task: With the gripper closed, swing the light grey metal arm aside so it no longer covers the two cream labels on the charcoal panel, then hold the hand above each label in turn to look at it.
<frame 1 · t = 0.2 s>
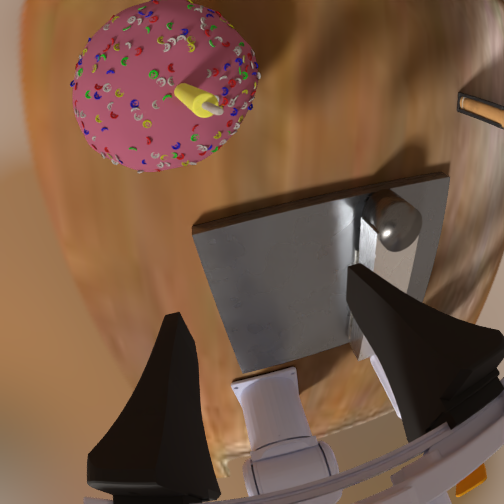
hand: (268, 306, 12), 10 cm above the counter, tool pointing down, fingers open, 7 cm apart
soap bottle: (396, 342, 37), on the counter
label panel: (338, 280, 26), on the counter
cable arm: (382, 289, 24), point 3 cm above the counter, hinge at 0.0°
cupcake: (168, 82, 15), on the counter
ammunition clip: (486, 109, 19), on the counter
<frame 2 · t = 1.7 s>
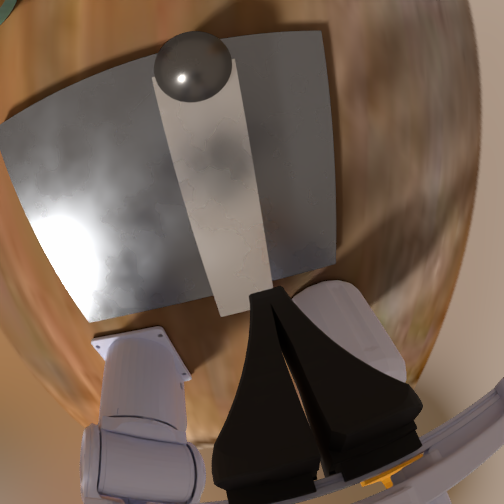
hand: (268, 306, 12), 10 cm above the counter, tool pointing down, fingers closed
soap bottle: (319, 311, 29), on the counter
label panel: (172, 188, 19), on the counter
cable arm: (219, 189, 17), point 3 cm above the counter, hinge at 0.0°
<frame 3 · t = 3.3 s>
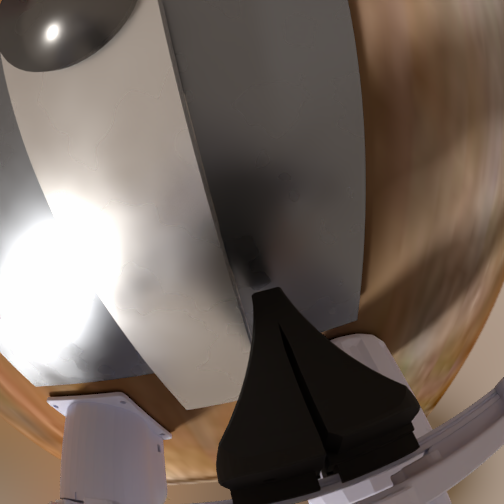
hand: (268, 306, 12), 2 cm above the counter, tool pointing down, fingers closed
soap bottle: (329, 367, 21), on the counter
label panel: (97, 225, 11), on the counter
cable arm: (150, 236, 8), point 3 cm above the counter, hinge at 0.0°, touching gripper
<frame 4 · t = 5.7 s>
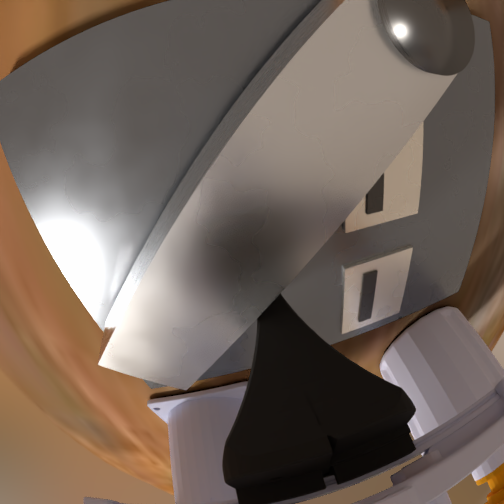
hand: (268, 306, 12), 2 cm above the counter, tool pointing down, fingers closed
soap bottle: (419, 339, 23), on the counter
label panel: (310, 203, 13), on the counter
cable arm: (270, 185, 8), point 3 cm above the counter, hinge at 46.8°, touching gripper
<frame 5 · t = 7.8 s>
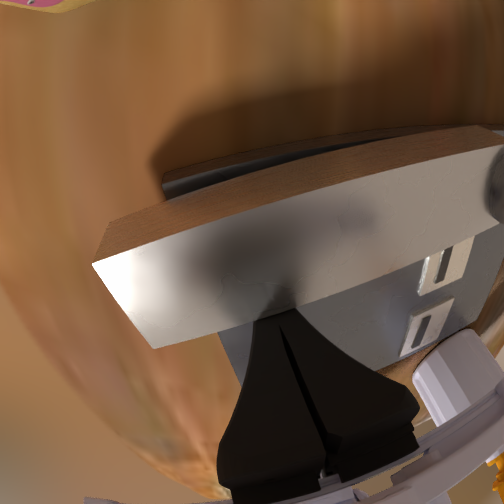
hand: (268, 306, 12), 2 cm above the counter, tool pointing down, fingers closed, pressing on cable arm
soap bottle: (442, 354, 26), on the counter
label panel: (398, 275, 16), on the counter
cable arm: (376, 210, 10), point 3 cm above the counter, hinge at 86.3°, touching gripper
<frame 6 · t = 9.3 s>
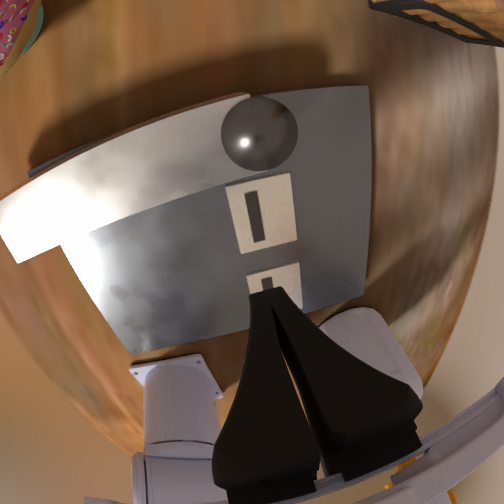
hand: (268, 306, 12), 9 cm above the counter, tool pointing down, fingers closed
soap bottle: (343, 333, 31), on the counter
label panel: (221, 235, 21), on the counter
cable arm: (122, 172, 14), point 3 cm above the counter, hinge at 86.4°
cupcake: (15, 31, 9), on the counter
ammunition clip: (422, 15, 13), on the counter
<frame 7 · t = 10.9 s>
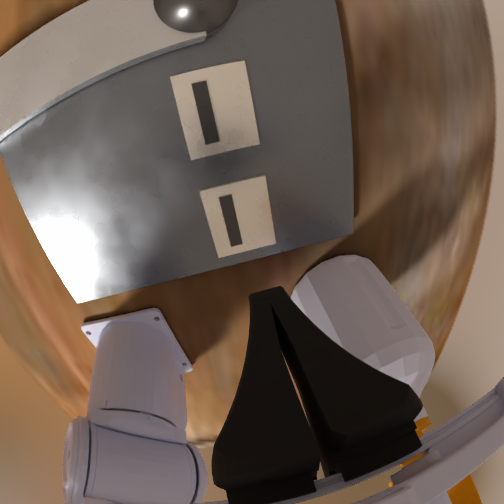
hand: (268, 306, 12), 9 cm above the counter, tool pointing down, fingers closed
soap bottle: (333, 291, 26), on the counter
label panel: (171, 143, 16), on the counter
cable arm: (59, 59, 10), point 3 cm above the counter, hinge at 86.4°
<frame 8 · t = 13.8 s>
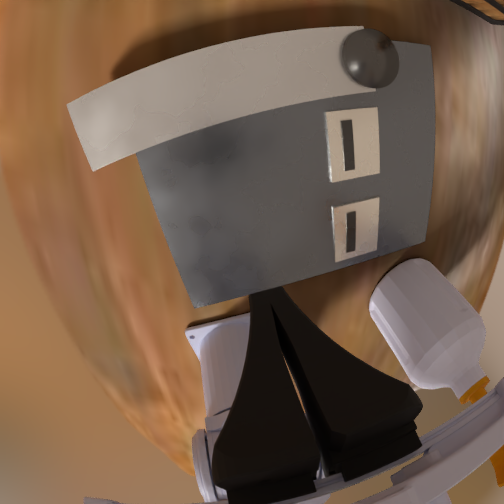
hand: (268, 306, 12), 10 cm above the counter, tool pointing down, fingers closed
soap bottle: (400, 288, 30), on the counter
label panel: (310, 165, 20), on the counter
cable arm: (242, 76, 13), point 3 cm above the counter, hinge at 86.4°
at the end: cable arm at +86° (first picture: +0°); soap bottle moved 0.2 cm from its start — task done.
